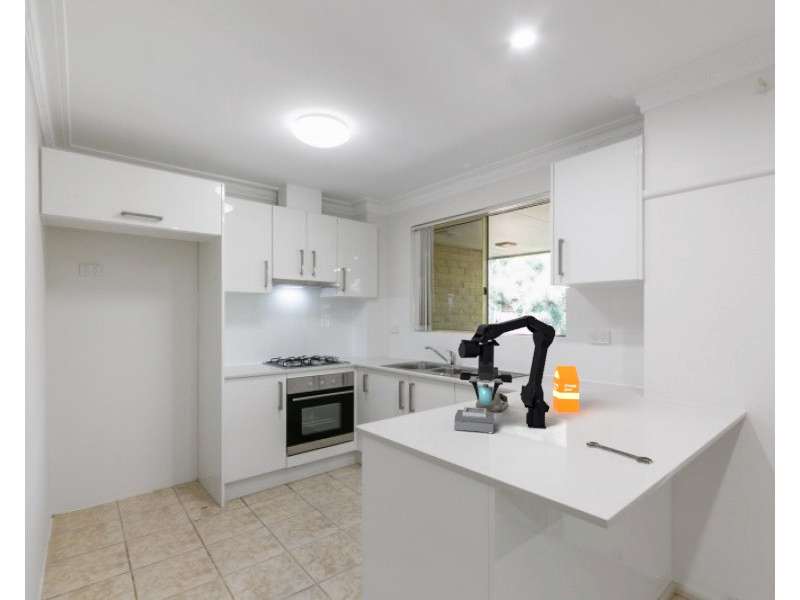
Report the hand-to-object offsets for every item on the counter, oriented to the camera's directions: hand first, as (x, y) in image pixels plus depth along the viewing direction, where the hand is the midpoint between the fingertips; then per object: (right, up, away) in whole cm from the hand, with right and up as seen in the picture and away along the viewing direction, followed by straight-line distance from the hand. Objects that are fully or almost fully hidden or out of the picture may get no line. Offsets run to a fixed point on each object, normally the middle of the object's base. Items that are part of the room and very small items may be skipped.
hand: (485, 399), depth 153 cm
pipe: (+10, -12, +31) cm, 35 cm away
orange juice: (+43, -13, +33) cm, 56 cm away
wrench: (+37, -12, -23) cm, 45 cm away
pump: (0, -1, 0) cm, 1 cm away
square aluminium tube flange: (-3, -11, +3) cm, 12 cm away
